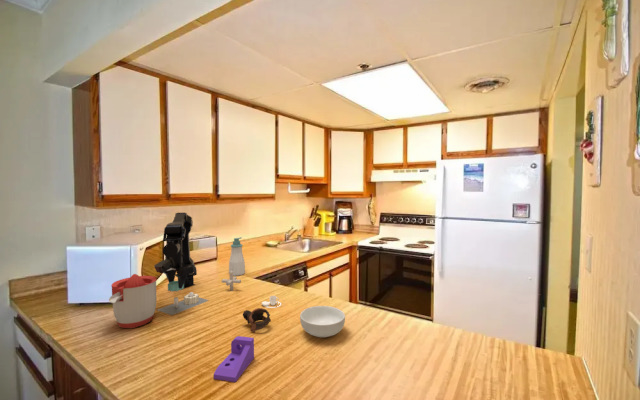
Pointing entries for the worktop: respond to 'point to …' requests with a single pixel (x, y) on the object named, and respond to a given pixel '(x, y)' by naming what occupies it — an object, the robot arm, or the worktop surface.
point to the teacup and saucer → (271, 302)
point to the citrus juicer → (134, 300)
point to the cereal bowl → (322, 320)
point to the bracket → (236, 359)
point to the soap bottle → (236, 258)
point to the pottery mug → (257, 318)
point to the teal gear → (174, 286)
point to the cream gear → (191, 299)
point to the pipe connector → (231, 281)
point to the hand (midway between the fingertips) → (175, 286)
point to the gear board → (180, 305)
